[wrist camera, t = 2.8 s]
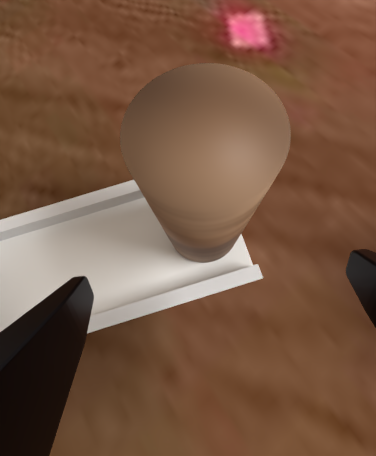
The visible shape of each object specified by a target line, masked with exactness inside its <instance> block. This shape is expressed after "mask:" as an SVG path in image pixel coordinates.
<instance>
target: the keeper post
mask: <svg viewBox="0 0 376 456" xmlns="http://www.w3.org/2000/svg"><path fill="white" fill-rule="evenodd" d="M290 139H291V131H290V123H289V118H288V115H287V112H286V110H285V108H284V106H283V104H282V102H281V100H280V99H279V97H278V96H277V95H276V93H275V92H274V91H273V90H272V89H271V88H270V87H269V86H268V85H267V84H266V83H264V82H263V81H262V80H261V79H259V78H258V77H256V76H254V75H253V74H251V73H249V72H246V71H244V70H242V69H239V68H236V67H233V66H228V65H224V64H215V63H200V64H191V65H186V66H182V67H179V68H176V69H173V70H170V71H168V72H166V73H164V74H162V75H160V76H158V77H156V78H155V79H153V80H152V81H151V82H149V83H148V84H147V85H146V86H145V87H144V88H142V89H141V90H140V91H139V93H138V94H137V95H136V96H135V97H134V99H133V100H132V102H131V103H130V105H129V106H128V109H127V111H126V113H125V115H124V118H123V121H122V125H121V131H120V145H121V152H122V155H123V159H124V162H125V164H126V166H127V168H128V170H129V172H130V174H131V175H132V177H133V179H134V180H135V182H136V184H137V185H138V187H139V189H140V191H141V192H142V194H143V196H144V197H145V199H146V201H147V202H148V204H149V206H150V208H151V209H152V211H153V213H154V214H155V216H156V218H157V219H158V221H159V223H160V225H161V226H162V228H163V230H164V231H165V233H166V235H167V236H168V238H169V240H170V241H171V243H172V245H173V246H174V248H175V249H176V251H177V252H178V253H179V254H180V255H182V256H183V257H185V258H186V259H188V260H191V261H194V262H199V263H208V262H213V261H216V260H218V259H220V258H222V257H224V256H225V255H226V254H227V253H229V251H230V250H231V249H232V248H233V246H234V244H235V243H236V241H237V240H238V238H239V236H240V235H241V233H242V231H243V230H244V228H245V227H246V225H247V223H248V222H249V220H250V219H251V217H252V215H253V214H254V212H255V210H256V209H257V207H258V206H259V204H260V202H261V201H262V199H263V197H264V196H265V194H266V193H267V191H268V189H269V188H270V186H271V184H272V183H273V181H274V180H275V178H276V176H277V175H278V173H279V172H280V170H281V168H282V167H283V164H284V162H285V160H286V158H287V155H288V151H289V148H290Z"/></svg>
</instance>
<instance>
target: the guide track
mask: <svg viewBox="0 0 376 456" xmlns="http://www.w3.org/2000/svg"><path fill="white" fill-rule="evenodd" d="M77 276H86V277H87V279H88V281H89V283H90V286H91V288H92V291H93V294H94V301H93V306H92V311H91V316H90V321H89V326H88V331H87V333H90V332H93V331H96V330H100V329H103V328H106V327H109V326H112V325H115V324H119V323H122V322H125V321H128V320H131V319H135V318H138V317H141V316H144V315H147V314H150V313H154V312H157V311H160V310H163V309H166V308H170V307H173V306H176V305H179V304H182V303H185V302H189V301H192V300H195V299H198V298H201V297H205V296H208V295H211V294H214V293H217V292H220V291H224V290H227V289H230V288H233V287H236V286H240V285H243V284H246V283H249V282H252V281H256V280H259V279H262V278H263V276H262V274H261V271H260V269H259V266H258V264H256V265H253V264H252V261H251V258H250V256H249V253H248V250H247V248H246V245H245V242H244V240H243V237H242V234H241V235H240V236H239V238H238V240H237V241H236V243H235V244H234V246H233V248H232V249H231V250H230V251H229V253H227V254H226V255H225V256H224V257H222V258H220V259H218V260H216V261H213V262H208V263H199V262H194V261H191V260H188V259H186V258H185V257H183V256H182V255H180V254H179V253H178V252H177V251H176V249H175V248H174V246H173V245H172V243H171V241H170V240H169V238H168V236H167V235H166V233H165V231H164V230H163V228H162V226H161V225H160V223H159V221H158V219H157V218H156V216H155V214H154V213H153V211H152V209H151V208H150V206H149V204H148V202H147V201H146V199H145V197H144V196H143V194H142V192H141V191H140V189H139V187H138V185H137V184H136V182H135V180H131V181H128V182H125V183H121V184H118V185H115V186H111V187H108V188H105V189H101V190H98V191H95V192H91V193H88V194H85V195H81V196H78V197H75V198H71V199H68V200H65V201H61V202H58V203H55V204H52V205H48V206H45V207H42V208H38V209H35V210H32V211H28V212H25V213H22V214H18V215H15V216H12V217H8V218H5V219H2V220H0V332H1V331H3V330H4V329H5V328H6V327H8V326H9V325H10V324H12V323H13V322H14V321H16V320H17V319H18V318H20V317H21V316H22V315H24V314H25V313H26V312H28V311H29V310H30V309H32V308H33V307H34V306H36V305H37V304H38V303H40V302H41V301H42V300H43V299H45V298H46V297H47V296H49V295H50V294H51V293H53V292H54V291H55V290H57V289H58V288H59V287H61V286H62V285H63V284H65V283H66V282H67V281H69V280H70V279H71V278H73V277H77Z"/></svg>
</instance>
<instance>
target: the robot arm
mask: <svg viewBox="0 0 376 456" xmlns="http://www.w3.org/2000/svg"><path fill="white" fill-rule="evenodd" d="M346 274H347V277H348V279H349V281H350V283H351V285H352V287H353V289H354V290H355V292H356V294H357V296H358V298H359V300H360V302H361V304H362V306H363V307H364V309H365V311H366V313H367V315H368V316H369V318H370V320H371V321H372V323H373V324H374V326H375V327H376V253H375V252H373V251H370V250H367V249H360V250H353V251H352V252H351V254H350V257H349V260H348V264H347V268H346ZM93 301H94V294H93V291H92V288H91V286H90V283H89V281H88V279H87V277H86V276H77V277H73V278H71V279H70V280H69V281H67V282H66V283H65V284H63V285H62V286H61V287H59V288H58V289H57V290H55V291H54V292H53V293H51V294H50V295H49V296H47V297H46V298H45V299H43V300H42V301H41V302H40V303H38V304H37V305H36V306H34V307H33V308H32V309H30V310H29V311H28V312H26V313H25V314H24V315H22V316H21V317H20V318H18V319H17V320H16V321H14V322H13V323H12V324H10V325H9V326H8V327H6V328H5V329H4V330H3V331H1V332H0V456H49V454H50V451H51V448H52V445H53V442H54V439H55V436H56V432H57V429H58V426H59V423H60V420H61V417H62V414H63V410H64V407H65V404H66V401H67V398H68V395H69V391H70V388H71V385H72V382H73V379H74V376H75V373H76V369H77V366H78V363H79V360H80V357H81V354H82V350H83V347H84V344H85V340H86V336H87V331H88V326H89V321H90V316H91V311H92V306H93Z"/></svg>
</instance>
